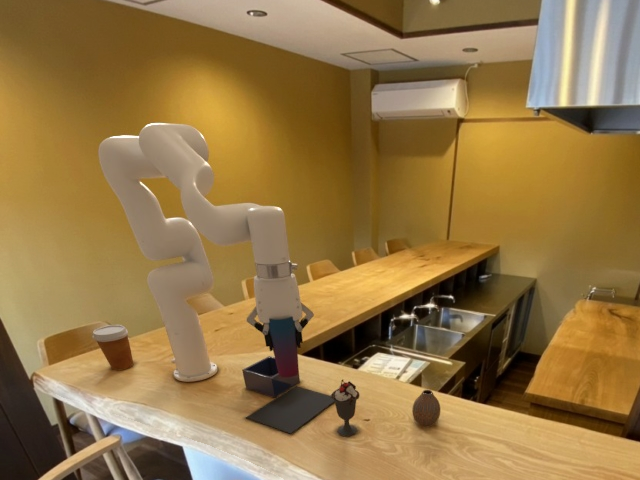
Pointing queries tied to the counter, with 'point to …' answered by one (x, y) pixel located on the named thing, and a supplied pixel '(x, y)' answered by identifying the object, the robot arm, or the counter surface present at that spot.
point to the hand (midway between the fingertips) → (284, 346)
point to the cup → (284, 346)
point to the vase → (426, 409)
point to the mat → (292, 409)
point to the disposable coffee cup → (114, 345)
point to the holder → (267, 378)
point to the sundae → (346, 406)
